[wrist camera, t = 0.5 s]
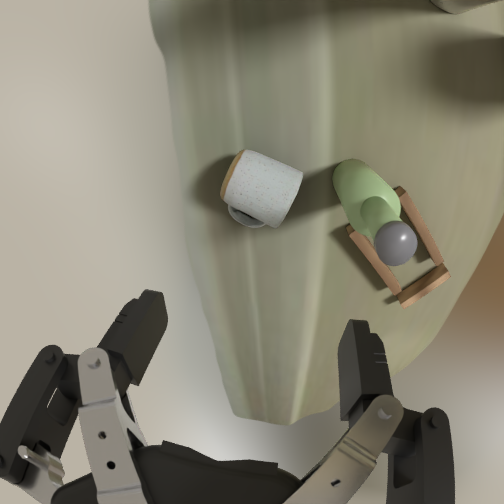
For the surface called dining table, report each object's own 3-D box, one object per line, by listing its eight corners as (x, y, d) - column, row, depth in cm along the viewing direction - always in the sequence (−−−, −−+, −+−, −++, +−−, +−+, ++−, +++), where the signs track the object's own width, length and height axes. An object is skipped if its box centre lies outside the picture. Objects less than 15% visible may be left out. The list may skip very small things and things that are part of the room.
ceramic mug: (244, 141, 33) (232, 152, 27) (303, 166, 34) (305, 183, 27) (219, 209, 39) (203, 234, 32) (271, 231, 39) (266, 261, 33)
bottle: (355, 150, 32) (409, 197, 16) (380, 182, 33) (439, 250, 18) (323, 176, 34) (348, 242, 19) (348, 206, 36) (384, 288, 20)
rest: (400, 185, 33) (406, 191, 31) (445, 268, 38) (450, 276, 36) (345, 227, 37) (348, 235, 35) (399, 299, 42) (403, 309, 40)
